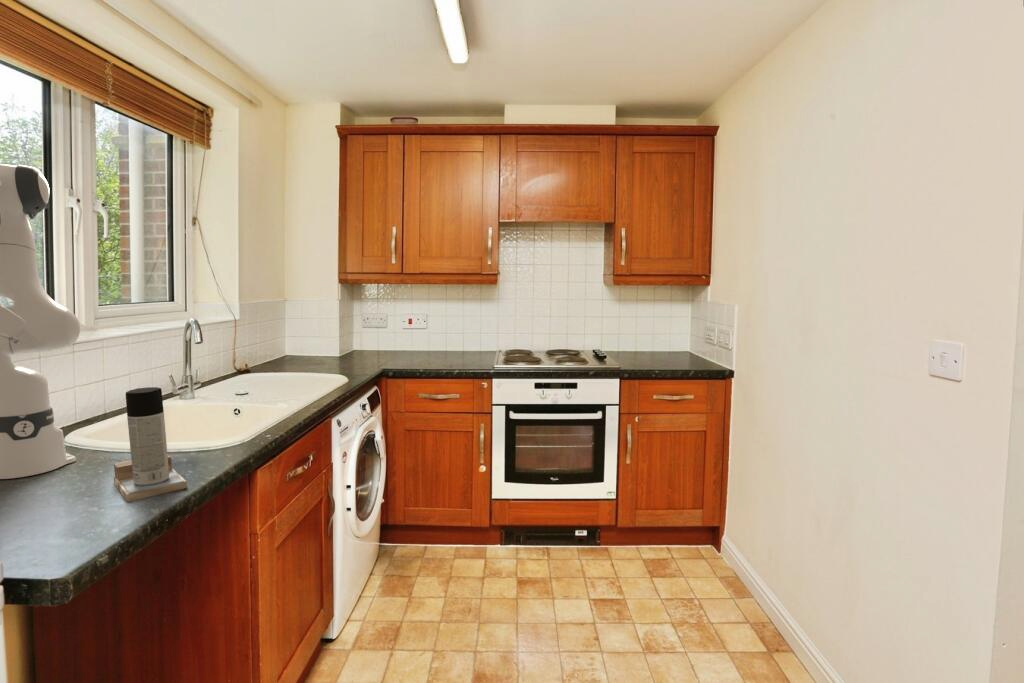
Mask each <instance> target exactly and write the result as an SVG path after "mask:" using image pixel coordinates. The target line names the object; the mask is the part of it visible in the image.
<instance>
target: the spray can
mask: <svg viewBox="0 0 1024 683" xmlns="http://www.w3.org/2000/svg"><path fill="white" fill-rule="evenodd" d="M125 402H126V415H127V416H126V417H127V427H128V437H129V438H128V439H129V449H130V460H131V461H132V471H133V481H134V484H135V485H137V486H146V485H154V484H159V483H161V482H164V481H166V480H168V478H169V466H168V455H169V454H168V444H167V433H166V422H165V411H164V410H165V409H164V402H163V390H162V388H161V387H157V386H151V387H149V386H147V387H138V388H134V389H131V390H127V391H126V392H125ZM167 454H168V455H167Z"/></svg>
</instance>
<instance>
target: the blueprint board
mask: <svg viewBox="0 0 1024 683" xmlns="http://www.w3.org/2000/svg"><path fill="white" fill-rule="evenodd" d="M167 455H168V466H169V478H168V480H166V481H164V482H161V483H159V484H154V485H146V486H137V485H135V484H134V481H133V471H132V461H131V459H130V460H125V461H119V462H114V463H113V468H114V469H113V470H114V476H113V484H114V486H115V487H116V488H117V490H118V491H119V492H120V494H121V495H122V496H123V498H124V499H125V501H126V502H132V501H136V500H141V499H145V498H150V497H155V496H159V495H163V494H167V493H170V492H176V491H179V490H185V489H188V484H187V482H188V481H187V480H186V479H185V478H184V477H183V476H181V474H180V473H178V472H177V471H176V470H175V469H174V468H173V463H172V456H171V455H169V454H168V453H167ZM184 488H185V489H184Z"/></svg>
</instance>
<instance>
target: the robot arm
mask: <svg viewBox="0 0 1024 683" xmlns="http://www.w3.org/2000/svg"><path fill="white" fill-rule="evenodd" d="M49 186H50V185H49V182H48V181H47V179H46V178H45V176H44V173H42V171H40V170H39V169H38V168H37V167H34V166H30V165H24V164H17V165H11V164H2V163H0V296H1V297H4V298H6V299H9V300H11V301H12V302H13V305H11V306H4V305H2V304H0V480H9V479H17V478H24V477H29V476H34V475H35V476H36V475H39V474H44V473H47V472H50V471H54V470H56V469H59V468H60V467H63V466H65V465H67V464H71V463H75V462H76V461H77V458H76V456H75V455H72V454H70V453H68V452H66V451H67V450H66V444H65V437H64V432H63V430H62V429H61V428H59V427H58V426H56V425H55V424H54V423H55V412H54V410H53V408H52V407H51V404H50V395H49V394H50V393H49V388H48V386H49V385H48V380H47V378H46V376H45V375H44V374H42V373H41V372H39V371H37V370H35V369H33V368H29V367H26V366H22V365H20V364H17V363H16V362H14V360H13V359H12V357H11V356H12V355H14V354H15V355H16V354H18V355H19V354H29V353H42V352H46V353H47V352H52V351H53V352H54V351H57V350H60V349H61V350H62V349H65V348H69V347H71V346H73V345H74V344H75V343H76V342H77V340H78V338H79V337H80V332H81V326H80V324H81V323H80V322H79V319H78V317H77V316H76V314H75V313H74V312H73V311H72V310H70V309H69V308H67V307H65V306H63V305H61V304H60V303H58V302H57V301H56V300H54V299H53V298H52V297H51V296H50V295H49V294H48V292H46V289H45V288H44V287H43V284H42V283H41V279H40V273H39V267H38V258H37V257H38V256H37V247H36V242H35V241H36V240H35V236H34V231H33V229H32V226H31V222H30V220H34V219H36V218H37V217H38V214H39V213H41V212H43V211H44V210H45V208H46V206H47V205H48V204H49V199H50V187H49ZM27 216H28V217H29V218H28V217H27ZM29 219H30V220H29Z"/></svg>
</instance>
